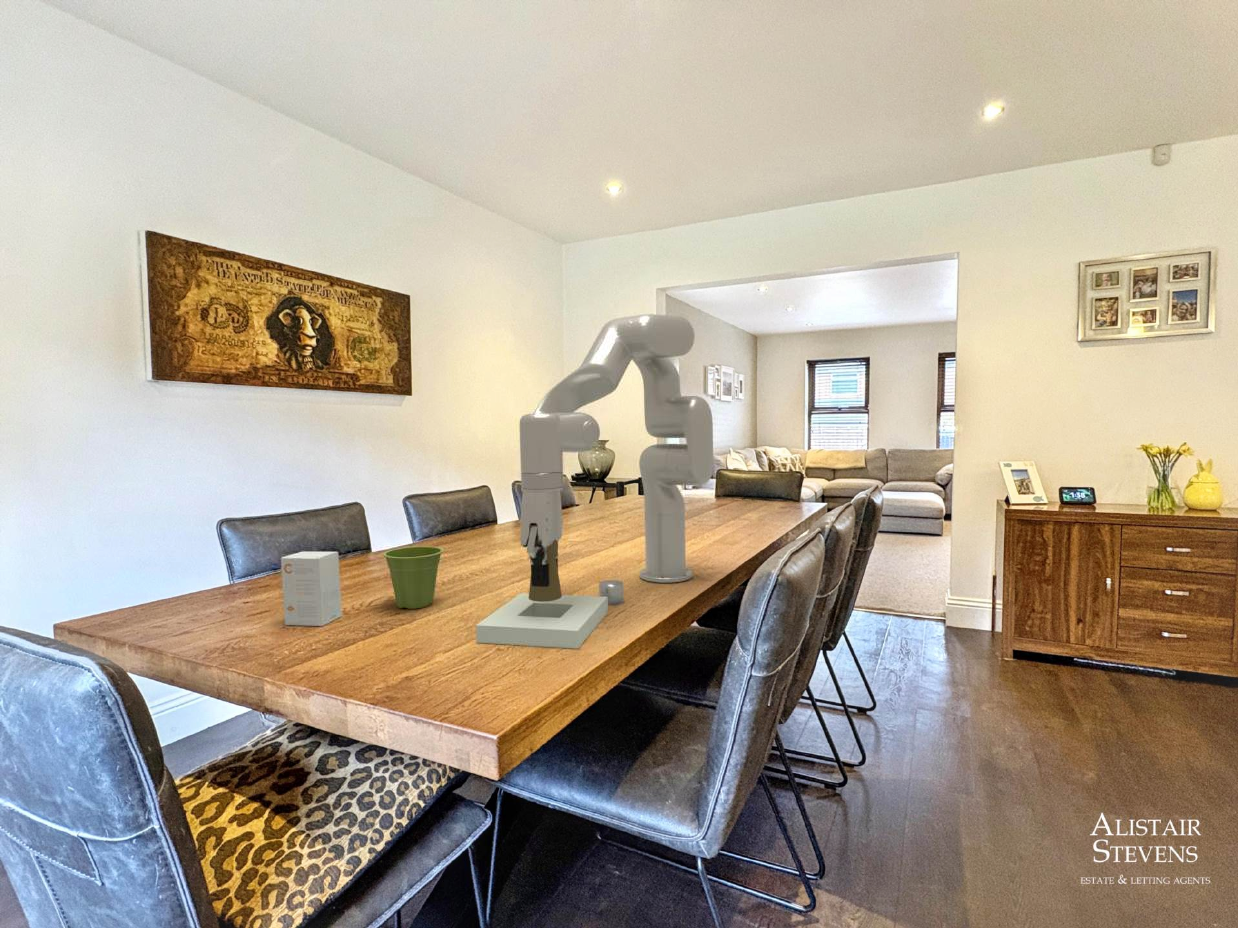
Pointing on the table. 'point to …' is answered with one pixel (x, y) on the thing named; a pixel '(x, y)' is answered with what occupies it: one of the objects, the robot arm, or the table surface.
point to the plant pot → (413, 574)
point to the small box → (311, 588)
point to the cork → (554, 584)
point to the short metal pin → (612, 591)
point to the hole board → (543, 621)
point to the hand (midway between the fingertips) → (545, 581)
